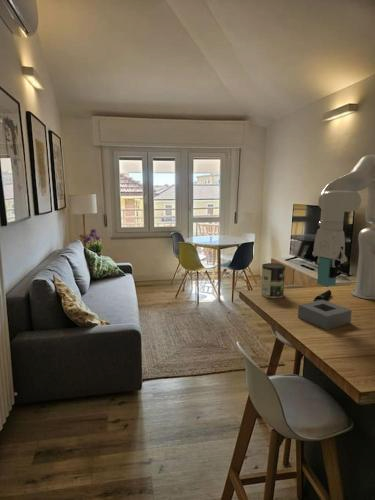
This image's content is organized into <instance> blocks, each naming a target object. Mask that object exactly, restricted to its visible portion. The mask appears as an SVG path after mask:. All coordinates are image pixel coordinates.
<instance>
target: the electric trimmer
mask: <svg viewBox="0 0 375 500" xmlns="http://www.w3.org/2000/svg"><path fill="white" fill-rule="evenodd" d="M331 296H332V291H331V290H330V289H328V290H326V291H324V292H323V293H320V294H319V295H316V296H315V298H314V299H313V301H312V302H314V301H318V300H325V301H326V300H329V298H331Z"/></svg>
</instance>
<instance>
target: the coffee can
mask: <svg viewBox="0 0 375 500" xmlns="http://www.w3.org/2000/svg"><path fill="white" fill-rule="evenodd" d="M261 267H262V269H261V290H260V291H261V293H260V294H261V296H263V297H264V298H265V297H266V298H270V299H279V298H282V297H284V294H285V293H284V292H285V290H284V289H285V288H284V287H285V273H286V266H285V264H282V263H275V262H274V263H273V262H270V263H268V262H266V263H263V264H262V266H261Z"/></svg>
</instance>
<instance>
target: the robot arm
mask: <svg viewBox="0 0 375 500" xmlns="http://www.w3.org/2000/svg"><path fill="white" fill-rule="evenodd" d="M366 189H367V200H366V207H365V208H366V209H365V222H366V223H367V224H370V225H374V226H375V154H367V155H364V156H363V157H360V159H359V160H358V161H357V162H356V164H355V165H354V167H353V168H352V169H351V170H350V172H349V173H346V174H344V175H342V176H340V177H338V178H335V179H334V180H331V181H330V182H329V183H328V184H327V185H325V187H324V188H323V190H321V192H320V194H319V196H318V201H317V203H318V204H317V205H318V207H319V208H320V209H321V211H320V221H319V222H318V223H317V225H318V226H319V228H317V231H316V233H315V238H314V243H313V251H312V252H311V254H312V257H314V258H315V260H316V264H317V268H318V267H319V257H323V258H328V259H331V264H332V267H330V276H329V277H330V278H335V277H336V278H337V277H338V270H339V269H338V268H339V267H340V266H341V265H342V264H343V263H345V262H347V261H348V257H347V256H346V254H345V253H346V251H345V248H346V244H345V243H346V238H345V230H344V229H343V228H344V221H345V220H344V219H345V213H346V212H347V213H349V212H350V213H351V212H354V211H356V210H358V209H359V208H360V206H361V204H362V197H361V195H360V194H359V192H360V191H363V190H366ZM357 238H358V263H357V269H356V270H357V271H356V280H355V289H352V290H351V295H353V296H355V297H356V298H360V299H364V300H365V299H366V300H374V301H375V227H365V228H363V229H361V230H360V231H359V233H358V237H357ZM335 262H336V263H335Z"/></svg>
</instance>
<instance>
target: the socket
mask: <svg viewBox="0 0 375 500" xmlns="http://www.w3.org/2000/svg"><path fill="white" fill-rule="evenodd" d="M313 301H314V300H313ZM313 301H310V302H306V303H300V304H298V306H297V307H298V308H297V309H298V310H297V318H299V319H301V320H303V321H306V322H307V323H310V324H312V325H314V326H316V327H319V328H321V329H323V330H325V331H328V330H332V329H335V328H338V327H342V326H345V325H348V324H351V321H352V313H353V312H352V310H351V309H349V308H347V307H345V306H344V307H343V306H341V305H339V304H336V303H333V302H330V301H327V300H326V299H325V300H318V301H314V302H313Z"/></svg>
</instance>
